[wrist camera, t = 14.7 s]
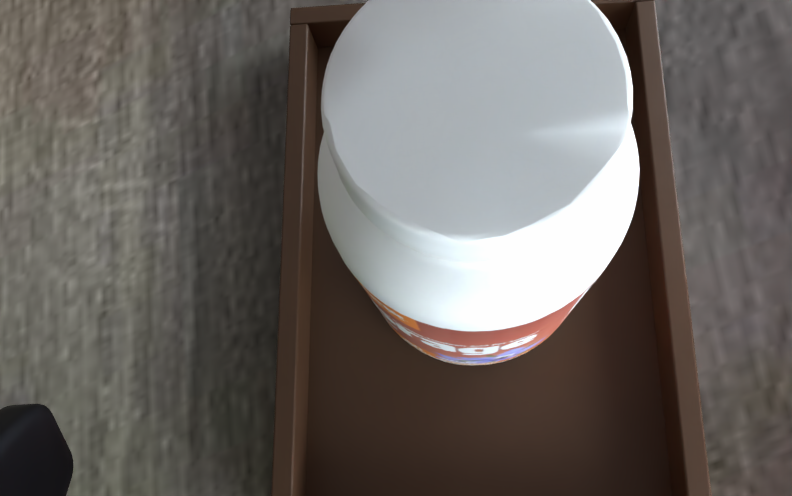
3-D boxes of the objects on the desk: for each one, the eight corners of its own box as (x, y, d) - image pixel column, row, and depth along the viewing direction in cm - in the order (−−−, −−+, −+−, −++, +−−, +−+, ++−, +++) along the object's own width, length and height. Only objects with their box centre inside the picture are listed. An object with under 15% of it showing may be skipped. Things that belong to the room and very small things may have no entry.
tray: (696, 551, 19) (720, 564, 17) (286, 546, 20) (267, 557, 18) (639, 18, 23) (653, -19, 21) (304, 40, 24) (290, 7, 22)
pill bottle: (339, 323, 21) (198, 207, 10) (415, 143, 22) (358, -126, 12) (538, 402, 20) (611, 361, 9) (606, 207, 21) (740, -29, 10)
